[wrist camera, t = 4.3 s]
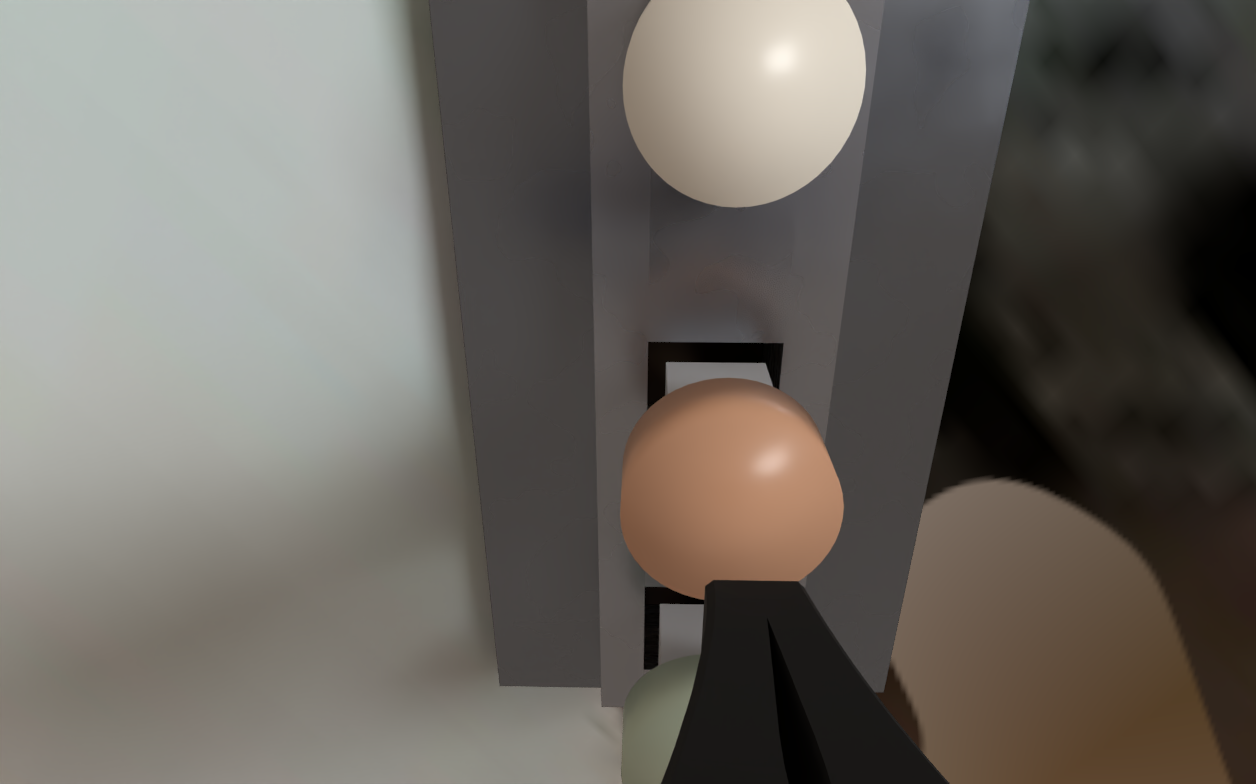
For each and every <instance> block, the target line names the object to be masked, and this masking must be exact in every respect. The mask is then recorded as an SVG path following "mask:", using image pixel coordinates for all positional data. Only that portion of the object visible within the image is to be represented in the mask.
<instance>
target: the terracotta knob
mask: <svg viewBox="0 0 1256 784" xmlns="http://www.w3.org/2000/svg"><path fill="white" fill-rule="evenodd" d="M843 510H844V503H843V493H842V489H841V485H840V482H839V479H838V477H837V474H836V472H835V469H834V467H833V464H832V462H831V459H830V457H829V454H828V452H827V449H826V447H825V444H824V442H823V439H822V437H821V434H820V432H819V430H818V427H817V425H816V424H815V422H814V420H813V419H812V417H811V416H810V414H809V413H808V412H807V411H806V410H805V409H804V408H803V406H801V405H800V404H799V403H798V402H797V401H796V400H794V399H793V398H792V397H790V396H789V395H787V394H786V393H784V392H783V391H781V390H779V389H777V388H774V387H773V385H772V382H771V379H770V376H769V372H768V369H767V366H766V363H704V362H666V381H665V396H664V397H662V398H661V399H660V400H658V401H657V402H656V403H654V404H653V405H652V406H651V407H650V408H649V409H648V410H647V411H646V412H645V413H644V414H643V415H642V417H641V418H640V419H639V420H638V422H637V423H636V425H635V426H634V428H633V430H632V432H631V433H630V436H629V438H628V441H627V443H626V446H625V450H624V455H623V466H622V486H621V506H620V521H621V529H622V533H623V537H624V540H625V542H626V545H627V547H628V549H629V551H630V553H631V554H632V556H633V557H634V559H635V560H636V562H637V563H638V564H639V565H640V566H641V568H642V569H643V570H644V571H645V572H647V573H648V574H649V575H650V576H651V577H652V578H654V579H655V580H656V581H658V582H659V583H661V584H662V585H664V586H666V587H668V588H670V589H671V590H673V591H676V592H678V593H681V594H683V595H686V596H690V597H693V598H697V599H702V600H704V596H705V586H706V585H707V584H708V583H710V582H711V581H713V580H754V581H800V580H801V579H803V578H804V577H805V576H807V575H808V574H809V573H810V572H812V571H813V570H814V569H815V568H816V567H817V566H818V565H819V564H820V563H821V562H822V561H823V559H824V558H825V557H826V555H827V554H828V553H829V551H830V550H831V548H832V546H833V545H834V543H835V541H836V539H837V536H838V534H839V531H840V528H841V524H842V520H843Z"/></svg>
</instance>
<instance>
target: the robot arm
mask: <svg viewBox="0 0 1256 784" xmlns="http://www.w3.org/2000/svg"><path fill="white" fill-rule="evenodd" d="M661 784H949V782H948V781H947V780H946V779H945V778H944V777H943V776H942V775H941V774H940V772H939V771H938V770H937V769H936V768H935V767H934V765H933V764H932V763H931V762H930V761H929V760H928V759H927V757H926V756H925V755H924V754H923V753H922V751H921V750H920V749H919V748H918V746H917V745H916V744H915V743H914V742H913V740H912V739H911V738H910V737H909V736H908V734H907V733H906V732H905V731H904V730H903V728H902V727H901V726H900V725H899V723H898V722H897V721H896V720H895V718H894V717H893V716H892V714H891V713H890V712H889V711H888V709H887V708H886V707H885V706H884V704H883V703H882V702H881V700H880V699H879V697H878V696H877V695H876V693H875V692H874V691H873V689H872V688H871V687H870V685H869V684H868V683H867V681H866V680H865V679H864V677H863V676H862V675H861V673H860V672H859V671H858V669H857V668H856V666H855V665H854V664H853V662H852V661H851V659H850V658H849V656H848V655H847V654H846V652H845V651H844V649H843V648H842V646H841V645H840V643H839V642H838V640H837V639H836V637H835V636H834V634H833V633H832V631H831V630H830V628H829V627H828V625H827V624H826V622H825V621H824V619H823V617H822V616H821V614H820V613H819V611H818V610H817V608H816V606H815V605H814V603H813V601H812V600H811V598H810V596H809V595H808V593H807V591H806V590H805V588H804V587H803V586H802V585H801V584H800V583H799V582H798V581H754V580H713V581H711V582H710V583H708V584H707V585H706V586H705V596H704V612H703V628H702V644H701V655H700V659H699V663H698V668H697V672H696V676H695V680H694V684H693V689H692V693H691V696H690V700H689V703H688V706H687V709H686V713H685V716H684V719H683V722H682V725H681V728H680V731H679V735H678V738H677V741H676V744H675V747H674V750H673V753H672V755H671V758H670V761H669V763H668V766H667V769H666V772H665V774H664V777H663V779H662V782H661Z"/></svg>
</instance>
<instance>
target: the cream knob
mask: <svg viewBox="0 0 1256 784" xmlns="http://www.w3.org/2000/svg"><path fill="white" fill-rule="evenodd" d="M865 78H866V61H865V50H864V45H863V39H862V35H861V32H860V29H859V26H858V23H857V20H856V18H855V16H854V14H853V11H852V9H851V7H850V5H849V4H848V2H847V1H846V0H651V1H650V2H649V3H648V5H647V6H646V8H645V9H644V11H643V13H642V14H641V16H640V18H639V20H638V22H637V25H636V27H635V29H634V31H633V34H632V37H631V40H630V44H629V47H628V50H627V54H626V59H625V65H624V71H623V101H624V108H625V113H626V118H627V122H628V125H629V128H630V131H631V134H632V136H633V139H634V141H635V143H636V145H637V147H638V149H639V151H640V152H641V154H642V155H643V157H644V159H645V160H646V162H647V163H648V164H649V165H650V166H651V168H652V169H653V170H654V171H655V172H656V174H658V175H659V176H660V177H661V178H662V179H663V180H664V181H665V182H666V183H667V184H669V185H670V186H672V187H673V188H675V189H676V190H677V191H679V192H681V193H683V194H685V195H687V196H688V197H690V198H692V199H695V200H698V201H701V202H704V203H707V204H711V205H716V206H721V207H735V208H736V207H751V206H757V205H762V204H766V203H769V202H773V201H776V200H779V199H781V198H783V197H785V196H788V195H790V194H792V193H794V192H796V191H797V190H799V189H800V188H802V187H804V186H805V185H807V184H808V183H809V182H811V181H812V180H813V179H814V178H816V177H817V176H818V175H819V174H820V173H821V172H822V171H823V170H824V169H825V168H826V167H827V166H828V165H829V164H830V163H831V162H832V161H833V159H834V158H835V157H836V155H837V154H838V153H839V152H840V150H841V149H842V147H843V145H844V144H845V142H846V140H847V139H848V137H849V135H850V133H851V131H852V129H853V127H854V124H855V122H856V120H857V117H858V114H859V111H860V108H861V104H862V99H863V94H864V89H865Z"/></svg>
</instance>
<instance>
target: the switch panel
mask: <svg viewBox="0 0 1256 784" xmlns="http://www.w3.org/2000/svg"><path fill="white" fill-rule="evenodd" d="M650 1H651V0H429V6H430V16H431V26H432V35H433V45H434V55H435V64H436V74H437V84H438V93H439V103H440V113H441V122H442V132H443V142H444V151H445V161H446V171H447V180H448V190H449V200H450V209H451V219H452V229H453V238H454V248H455V258H456V267H457V277H458V287H459V296H460V306H461V316H462V326H463V335H464V345H465V355H466V364H467V374H468V384H469V393H470V403H471V413H472V422H473V432H474V442H475V451H476V461H477V471H478V480H479V490H480V500H481V509H482V519H483V529H484V538H485V548H486V558H487V567H488V577H489V587H490V596H491V606H492V616H493V625H494V635H495V645H496V654H497V664H498V674H499V683H500V686H539V687H599V688H601V701H602V707H624V704H625V700H626V698H627V696H628V694H629V691H630V690H631V689H632V687H633V686H634V684H635V683H636V682H637V681H638V680H639V679H640V678H641V677H642V676H644V675H645V674H646V673H647V672H649V671H650V670H652V669H654V668H655V667H657V666H658V654H659V615H660V605H644V604H645V587H666V586H664V585H662V584H661V583H659V582H658V581H656V580H655V579H654V578H652V577H651V576H650V575H649V574H648V573H647V572H645V571H644V570H643V569H642V568H641V566H640V565H639V564H638V563H637V562H636V560H635V559H634V557H633V556H632V554H631V553H630V551H629V549H628V547H627V545H626V542H625V540H624V537H623V533H622V529H621V521H620V506H621V486H622V466H623V455H624V450H625V446H626V443H627V441H628V438H629V436H630V433H631V432H632V430H633V428H634V426H635V425H636V423H637V422H638V420H639V419H640V418H641V417H642V415H643V414H644V413H645V412H646V411H647V410H648V409H649V408H650V407H651V406H647V387H648V342H726V343H764V347H763V358H762V363H766V366H767V369H768V372H769V376H770V379H771V382H772V385H773V387H774V388H777V389H779V390H781V391H783V392H784V393H786V394H787V395H789V396H790V397H792V398H793V399H794V400H796V401H797V402H798V403H799V404H800V405H801V406H803V408H804V409H805V410H806V411H807V412H808V413H809V414H810V416H811V417H812V419H813V420H814V422H815V424H816V425H817V427H818V430H819V432H820V434H821V437H822V439H823V442H824V444H825V447H826V449H827V452H828V454H829V457H830V459H831V462H832V464H833V467H834V469H835V472H836V474H837V477H838V479H839V482H840V485H841V489H842V493H843V503H844V510H843V520H842V524H841V528H840V531H839V534H838V536H837V539H836V541H835V543H834V545H833V546H832V548H831V550H830V551H829V553H828V554H827V555H826V557H825V558H824V559H823V561H822V562H821V563H820V564H819V565H818V566H817V567H816V568H815V569H814V570H813V571H812V572H810V573H809V574H808V575H807V576H805V577H804V578H803V579H801V580H800V581H798V582H799V583H800V584H801V585H802V586H803V587H804V588H805V590H806V591H807V593H808V595H809V596H810V598H811V600H812V601H813V603H814V605H815V606H816V608H817V610H818V611H819V613H820V614H821V616H822V617H823V619H824V621H825V622H826V624H827V625H828V627H829V628H830V630H831V631H832V633H833V634H834V636H835V637H836V639H837V640H838V642H839V643H840V645H841V646H842V648H843V649H844V651H845V652H846V654H847V655H848V656H849V658H850V659H851V661H852V662H853V664H854V665H855V666H856V668H857V669H858V671H859V672H860V673H861V675H862V676H863V677H864V679H865V680H866V681H867V683H868V684H869V685H870V687H871V688H872V689H873V691H874V692H884V688H885V683H886V678H887V673H888V669H889V664H890V659H891V655H892V650H893V645H894V640H895V635H896V631H897V625H898V621H899V616H900V611H901V607H902V602H903V598H904V593H905V588H906V583H907V579H908V574H909V569H910V565H911V559H912V555H913V550H914V546H915V541H916V536H917V531H918V526H919V522H920V517H921V512H922V508H923V503H924V498H925V493H926V489H927V484H928V479H929V475H930V470H931V465H932V460H933V456H934V451H935V446H936V441H937V437H938V432H939V427H940V422H941V418H942V413H943V408H944V403H945V399H946V394H947V389H948V385H949V380H950V375H951V370H952V366H953V361H954V356H955V351H956V347H957V342H958V337H959V332H960V328H961V323H962V318H963V313H964V309H965V304H966V299H967V295H968V290H969V285H970V280H971V276H972V271H973V266H974V261H975V257H976V252H977V247H978V242H979V238H980V233H981V228H982V223H983V219H984V214H985V209H986V205H987V200H988V195H989V190H990V186H991V181H992V176H993V171H994V167H995V162H996V157H997V152H998V148H999V143H1000V138H1001V133H1002V129H1003V124H1004V119H1005V115H1006V110H1007V105H1008V100H1009V96H1010V91H1011V86H1012V81H1013V77H1014V72H1015V67H1016V62H1017V58H1018V53H1019V48H1020V43H1021V39H1022V34H1023V29H1024V25H1025V20H1026V15H1027V10H1028V6H1029V1H1030V0H846V1H847V2H848V4H849V5H850V7H851V9H852V11H853V14H854V16H855V18H856V20H857V23H858V26H859V29H860V32H861V35H862V39H863V45H864V50H865V61H866V78H865V89H864V94H863V99H862V104H861V108H860V111H859V114H858V117H857V120H856V122H855V124H854V127H853V129H852V131H851V133H850V135H849V137H848V139H847V140H846V142H845V144H844V145H843V147H842V149H841V150H840V152H839V153H838V154H837V155H836V157H835V158H834V159H833V161H832V162H831V163H830V164H829V165H828V166H827V167H826V168H825V169H824V170H823V171H822V172H821V173H820V174H819V175H818V176H817V177H816V178H814V179H813V180H812V181H811V182H809V183H808V184H807V185H805V186H804V187H802V188H800V189H799V190H797V191H796V192H794V193H792V194H790V195H788V196H785V197H783V198H781V199H779V200H776V201H773V202H769V203H766V204H762V205H757V206H751V207H736V208H735V207H721V206H716V205H711V204H707V203H704V202H701V201H698V200H695V199H692V198H690V197H688V196H687V195H685V194H683V193H681V192H679V191H677V190H676V189H675V188H673V187H672V186H670V185H669V184H667V183H666V182H665V181H664V180H663V179H662V178H661V177H660V176H659V175H658V174H656V172H655V171H654V170H653V169H652V168H651V166H650V165H649V164H648V163H647V162H646V160H645V159H644V157H643V155H642V154H641V152H640V151H639V149H638V147H637V145H636V143H635V141H634V139H633V136H632V134H631V131H630V128H629V125H628V122H627V118H626V113H625V108H624V101H623V71H624V65H625V59H626V54H627V50H628V47H629V44H630V40H631V37H632V34H633V31H634V29H635V27H636V25H637V22H638V20H639V18H640V16H641V14H642V13H643V11H644V9H645V8H646V6H647V5H648V3H649V2H650Z"/></svg>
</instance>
